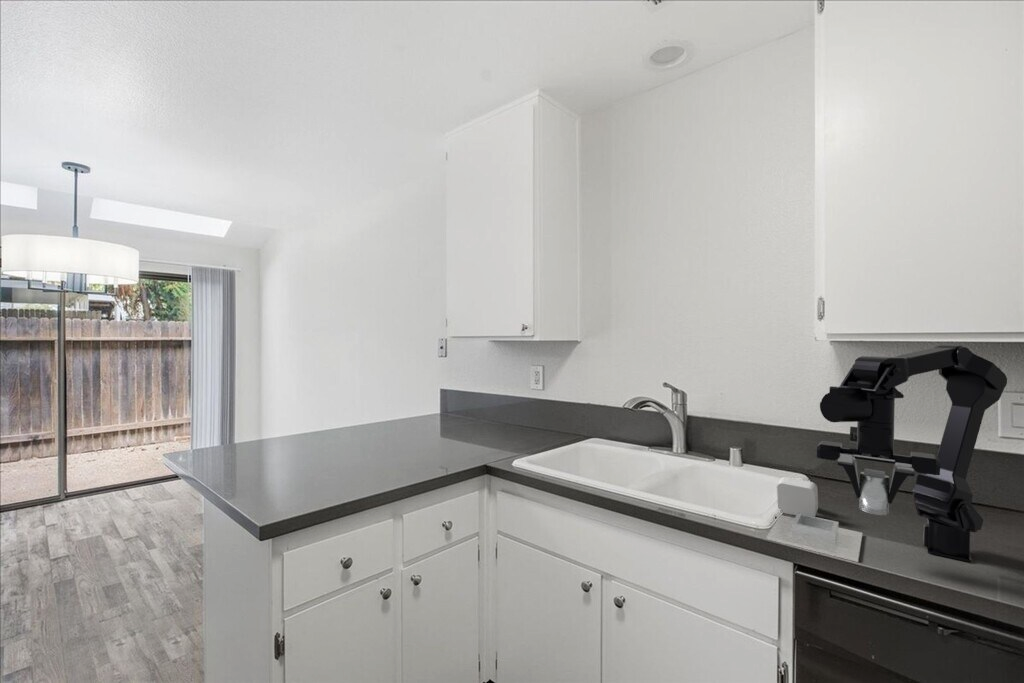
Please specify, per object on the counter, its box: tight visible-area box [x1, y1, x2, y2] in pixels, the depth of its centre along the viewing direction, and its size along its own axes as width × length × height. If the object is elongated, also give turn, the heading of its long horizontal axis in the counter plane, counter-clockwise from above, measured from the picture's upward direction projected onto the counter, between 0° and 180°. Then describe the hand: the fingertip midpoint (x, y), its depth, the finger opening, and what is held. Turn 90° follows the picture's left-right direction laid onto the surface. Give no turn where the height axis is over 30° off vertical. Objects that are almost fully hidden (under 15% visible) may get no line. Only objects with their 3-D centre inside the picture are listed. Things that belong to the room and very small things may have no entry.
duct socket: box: [766, 513, 863, 563], centre depth 104 cm, size 16×16×3 cm
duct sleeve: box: [858, 468, 890, 516], centre depth 93 cm, size 5×5×8 cm
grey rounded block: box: [776, 476, 819, 517], centre depth 119 cm, size 8×10×10 cm
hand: (873, 500), depth 93 cm, fingers closed on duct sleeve, 5 cm apart
